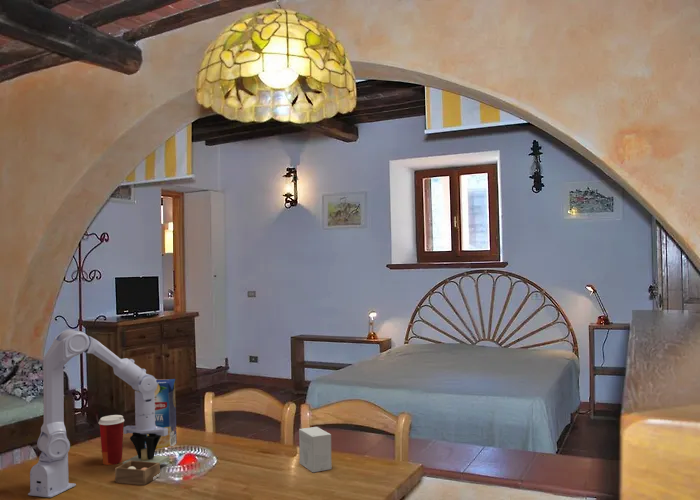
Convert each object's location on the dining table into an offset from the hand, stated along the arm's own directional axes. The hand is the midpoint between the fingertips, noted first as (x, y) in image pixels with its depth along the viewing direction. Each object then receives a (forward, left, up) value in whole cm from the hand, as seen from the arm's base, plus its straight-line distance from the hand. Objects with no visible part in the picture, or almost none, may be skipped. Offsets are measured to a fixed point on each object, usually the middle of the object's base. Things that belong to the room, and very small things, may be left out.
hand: (146, 458), depth 190 cm
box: (-10, -4, -3) cm, 11 cm away
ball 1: (-10, -2, -1) cm, 10 cm away
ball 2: (-10, -6, -1) cm, 11 cm away
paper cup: (+2, +14, -3) cm, 14 cm away
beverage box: (+20, +10, -3) cm, 23 cm away
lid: (0, 0, -1) cm, 1 cm away
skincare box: (+13, -50, -3) cm, 52 cm away
